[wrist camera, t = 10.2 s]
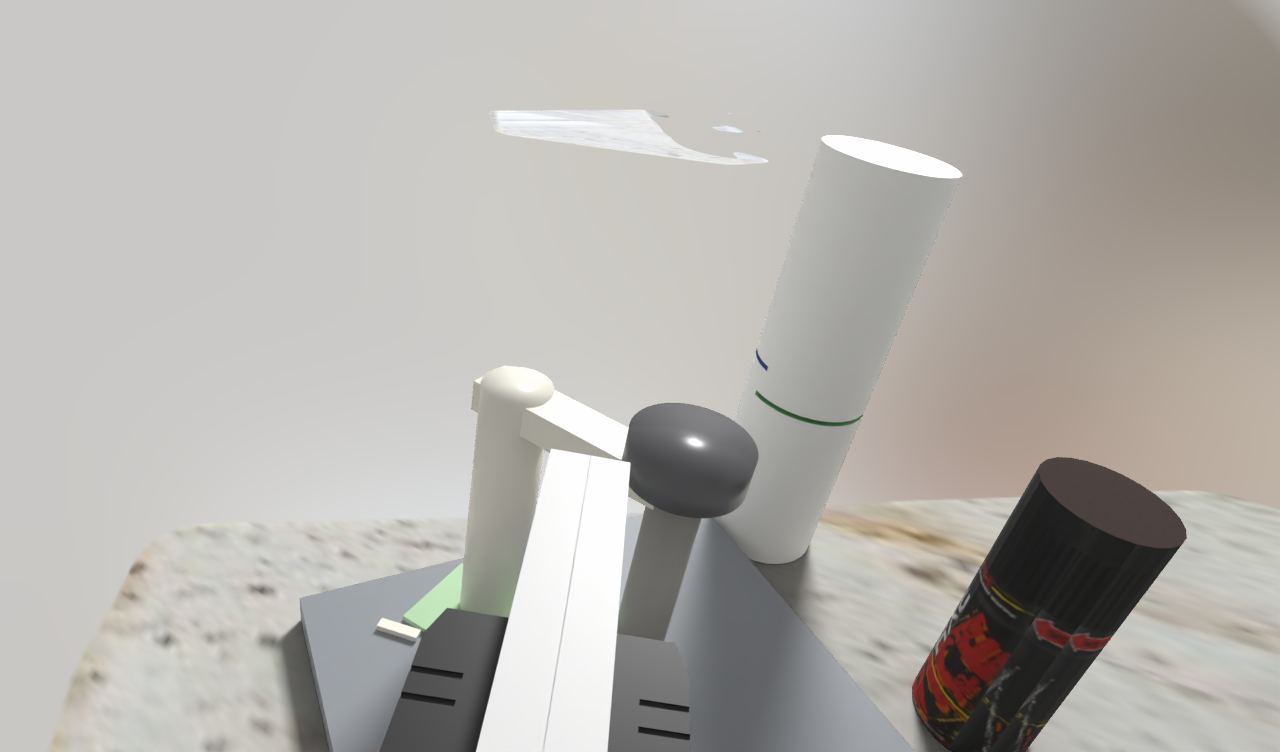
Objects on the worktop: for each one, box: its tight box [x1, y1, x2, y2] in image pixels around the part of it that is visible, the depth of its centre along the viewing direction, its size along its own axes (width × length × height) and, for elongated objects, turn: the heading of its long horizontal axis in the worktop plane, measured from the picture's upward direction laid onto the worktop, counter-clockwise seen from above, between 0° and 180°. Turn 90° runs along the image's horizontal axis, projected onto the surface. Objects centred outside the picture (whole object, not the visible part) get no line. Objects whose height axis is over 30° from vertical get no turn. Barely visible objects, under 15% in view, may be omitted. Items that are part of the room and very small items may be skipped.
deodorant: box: [912, 457, 1186, 752], centre depth 35 cm, size 6×6×15 cm
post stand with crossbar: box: [460, 365, 759, 641], centre depth 31 cm, size 12×6×15 cm, turn 59°
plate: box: [300, 514, 915, 752], centre depth 34 cm, size 24×22×2 cm
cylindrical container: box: [714, 135, 962, 564], centre depth 43 cm, size 7×7×25 cm
